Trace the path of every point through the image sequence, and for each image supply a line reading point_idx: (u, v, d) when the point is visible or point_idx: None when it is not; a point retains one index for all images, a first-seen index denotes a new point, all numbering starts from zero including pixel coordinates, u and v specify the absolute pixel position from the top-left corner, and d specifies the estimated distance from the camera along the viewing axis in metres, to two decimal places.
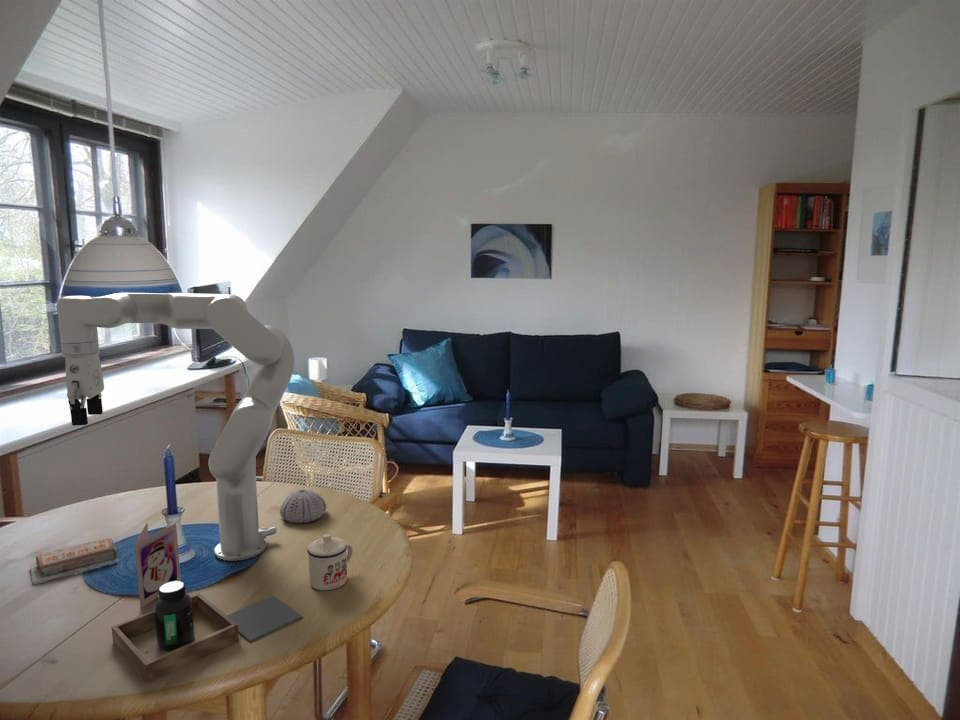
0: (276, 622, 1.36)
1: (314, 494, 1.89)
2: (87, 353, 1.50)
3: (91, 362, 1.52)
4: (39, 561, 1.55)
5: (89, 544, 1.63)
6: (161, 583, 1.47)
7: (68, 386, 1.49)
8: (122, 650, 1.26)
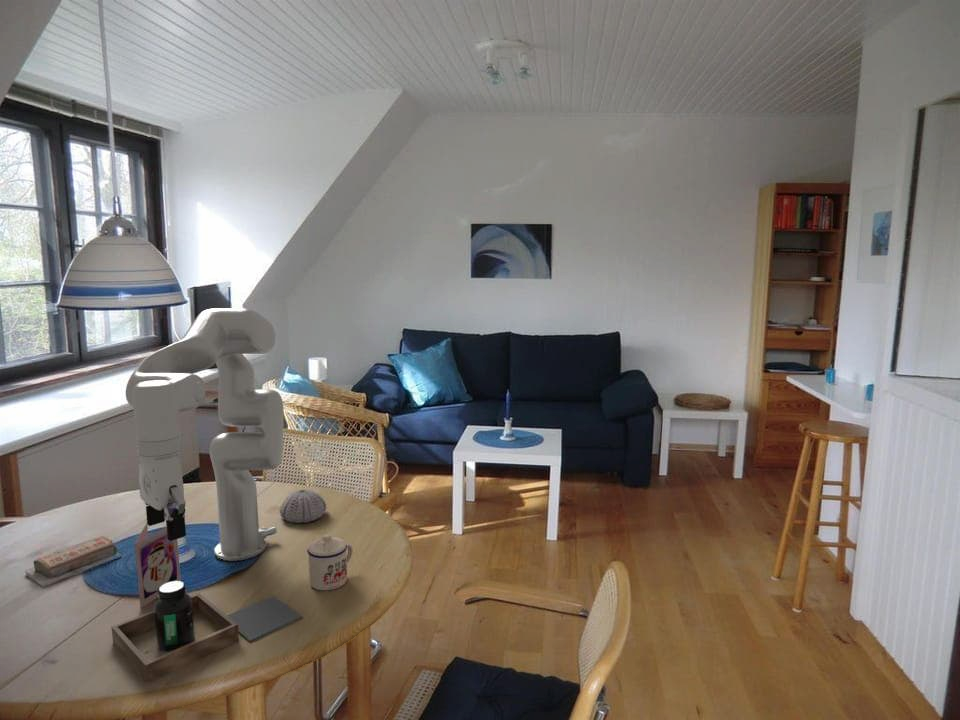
0: (276, 622, 1.36)
1: (314, 494, 1.89)
2: None
3: (142, 462, 1.23)
4: (43, 564, 1.54)
5: (86, 543, 1.64)
6: (161, 583, 1.47)
7: None
8: (122, 650, 1.26)
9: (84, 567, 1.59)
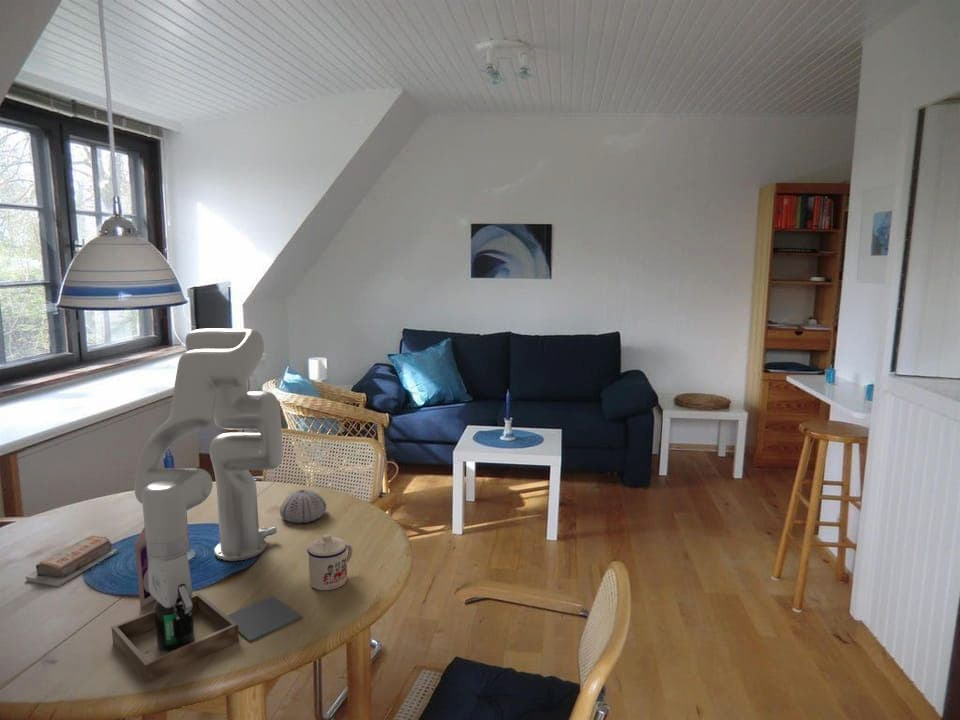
0: (276, 622, 1.36)
1: (314, 494, 1.89)
2: None
3: (151, 560, 1.26)
4: (51, 565, 1.53)
5: (81, 543, 1.64)
6: None
7: None
8: (122, 650, 1.26)
9: (89, 564, 1.60)
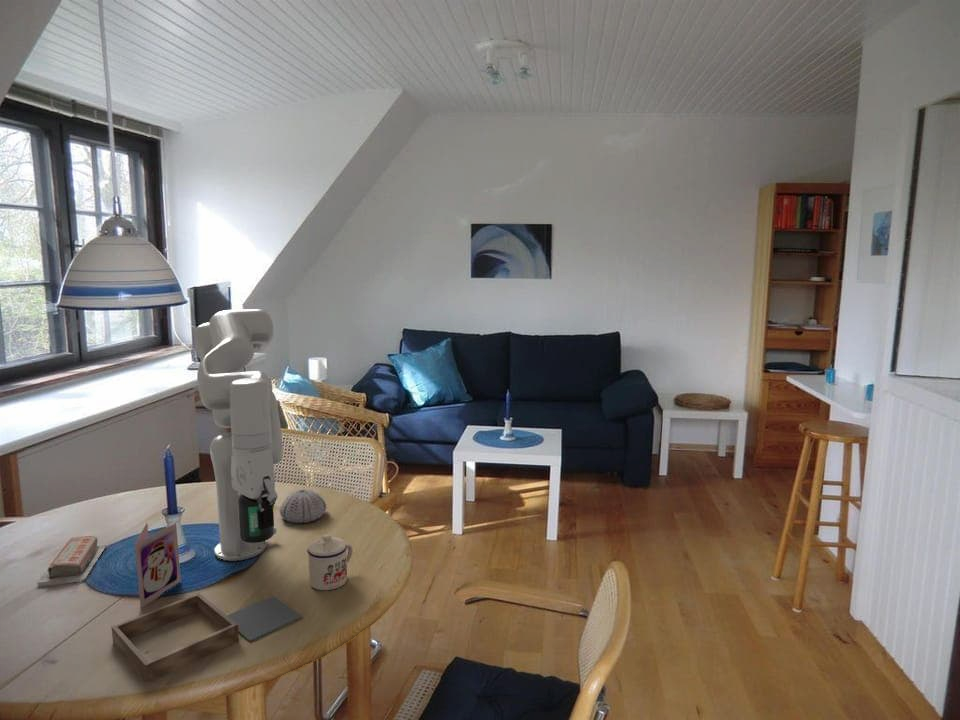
0: (276, 622, 1.36)
1: (314, 494, 1.89)
2: None
3: (235, 455, 1.31)
4: (68, 564, 1.53)
5: (71, 544, 1.63)
6: (161, 583, 1.47)
7: None
8: (122, 650, 1.26)
9: (93, 560, 1.62)
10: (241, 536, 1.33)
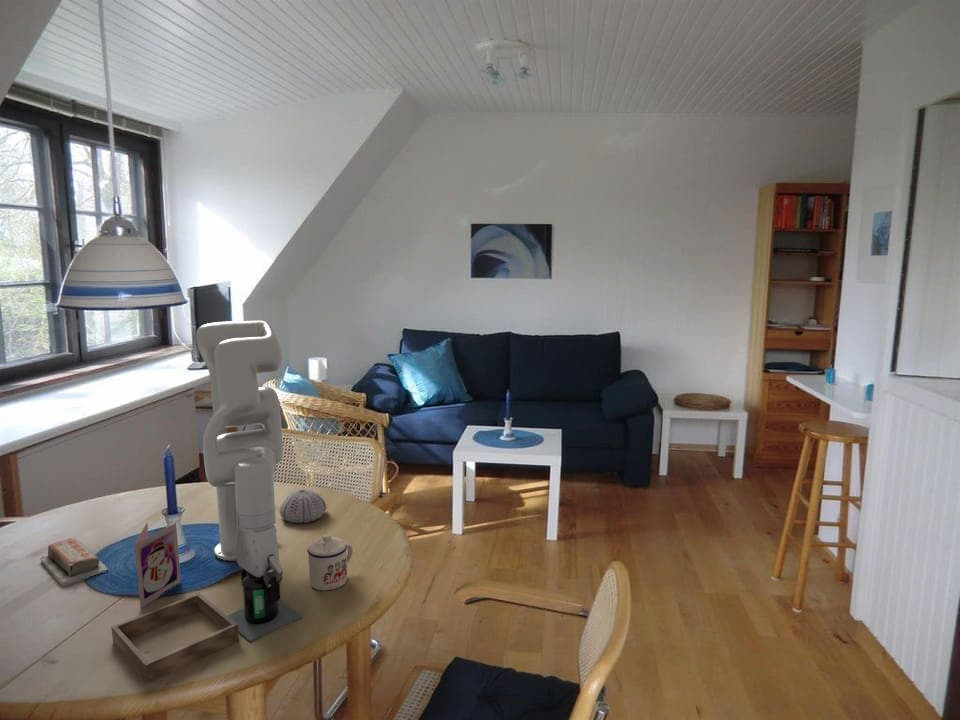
0: (276, 622, 1.36)
1: (314, 494, 1.89)
2: None
3: (240, 532, 1.34)
4: (88, 559, 1.56)
5: (62, 548, 1.61)
6: (161, 583, 1.47)
7: None
8: (122, 650, 1.26)
9: None
10: (246, 617, 1.36)
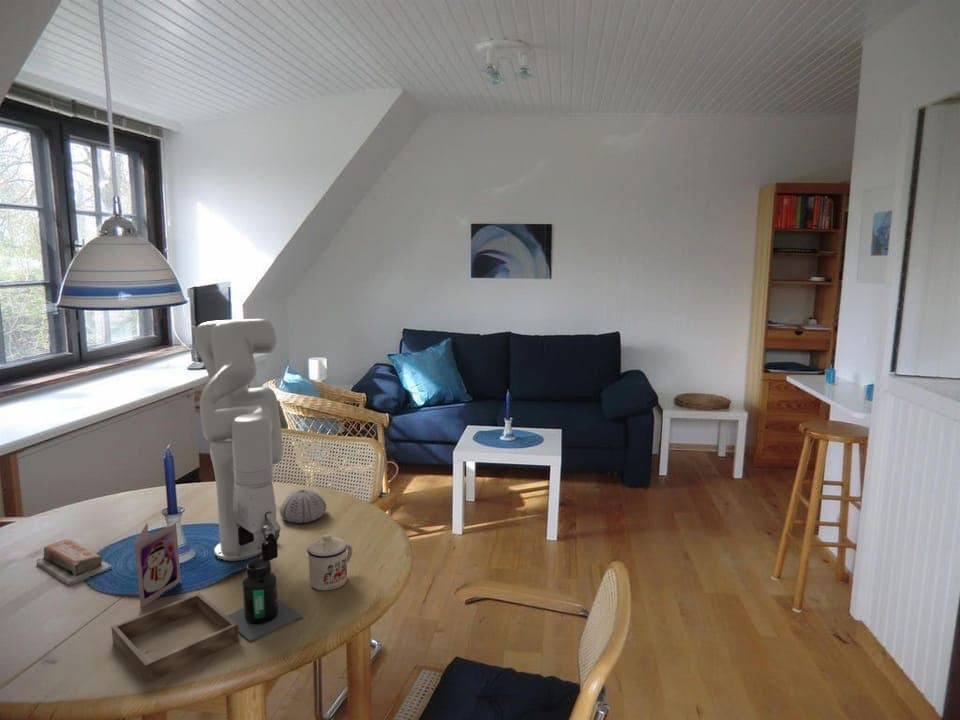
0: (276, 622, 1.36)
1: (314, 494, 1.89)
2: None
3: (237, 489, 1.33)
4: (91, 557, 1.57)
5: (60, 549, 1.61)
6: (161, 583, 1.47)
7: None
8: (122, 650, 1.26)
9: None
10: (246, 617, 1.36)
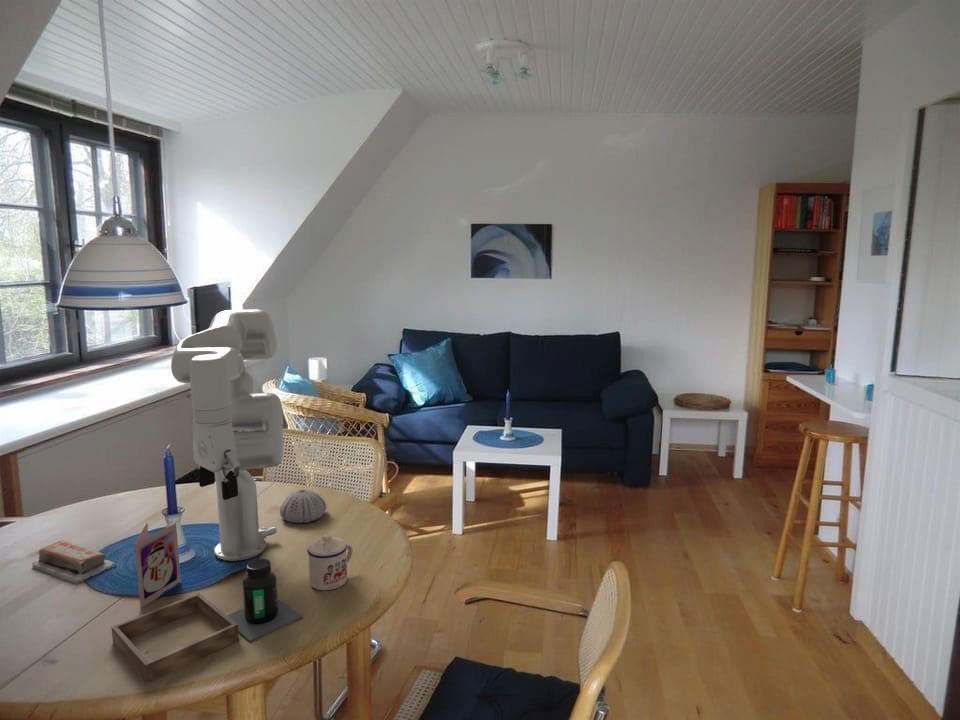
0: (276, 622, 1.36)
1: (314, 494, 1.89)
2: None
3: (197, 429, 1.35)
4: (96, 555, 1.58)
5: (58, 550, 1.60)
6: (161, 583, 1.47)
7: None
8: (122, 650, 1.26)
9: None
10: (246, 617, 1.36)
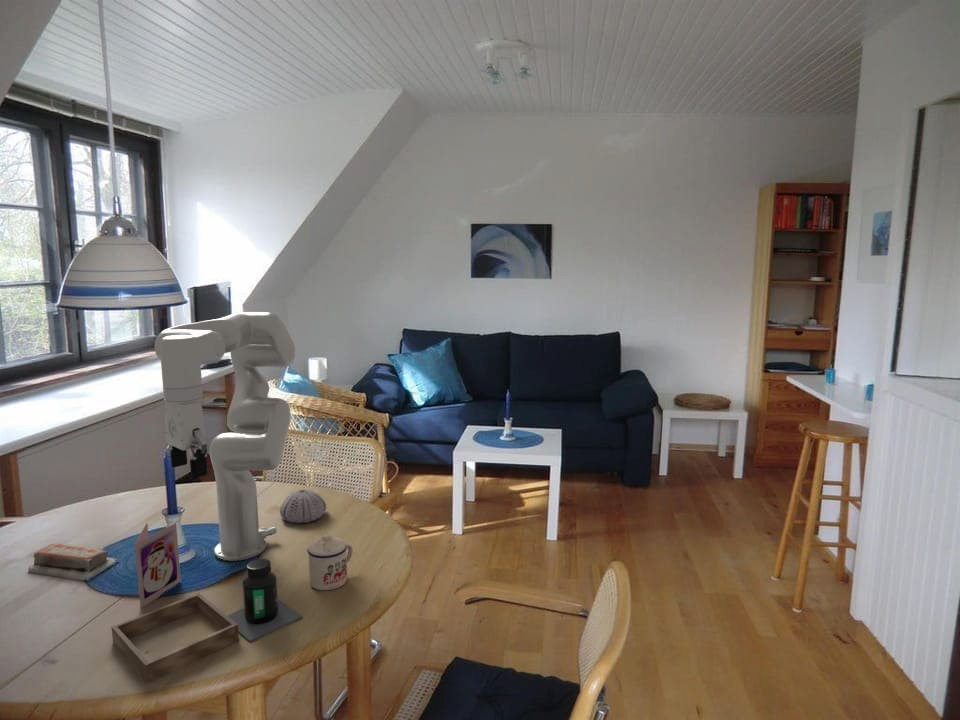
0: (276, 622, 1.36)
1: (314, 494, 1.89)
2: None
3: (167, 408, 1.37)
4: (100, 553, 1.59)
5: (56, 551, 1.59)
6: (161, 583, 1.47)
7: None
8: (122, 650, 1.26)
9: None
10: (246, 617, 1.36)
